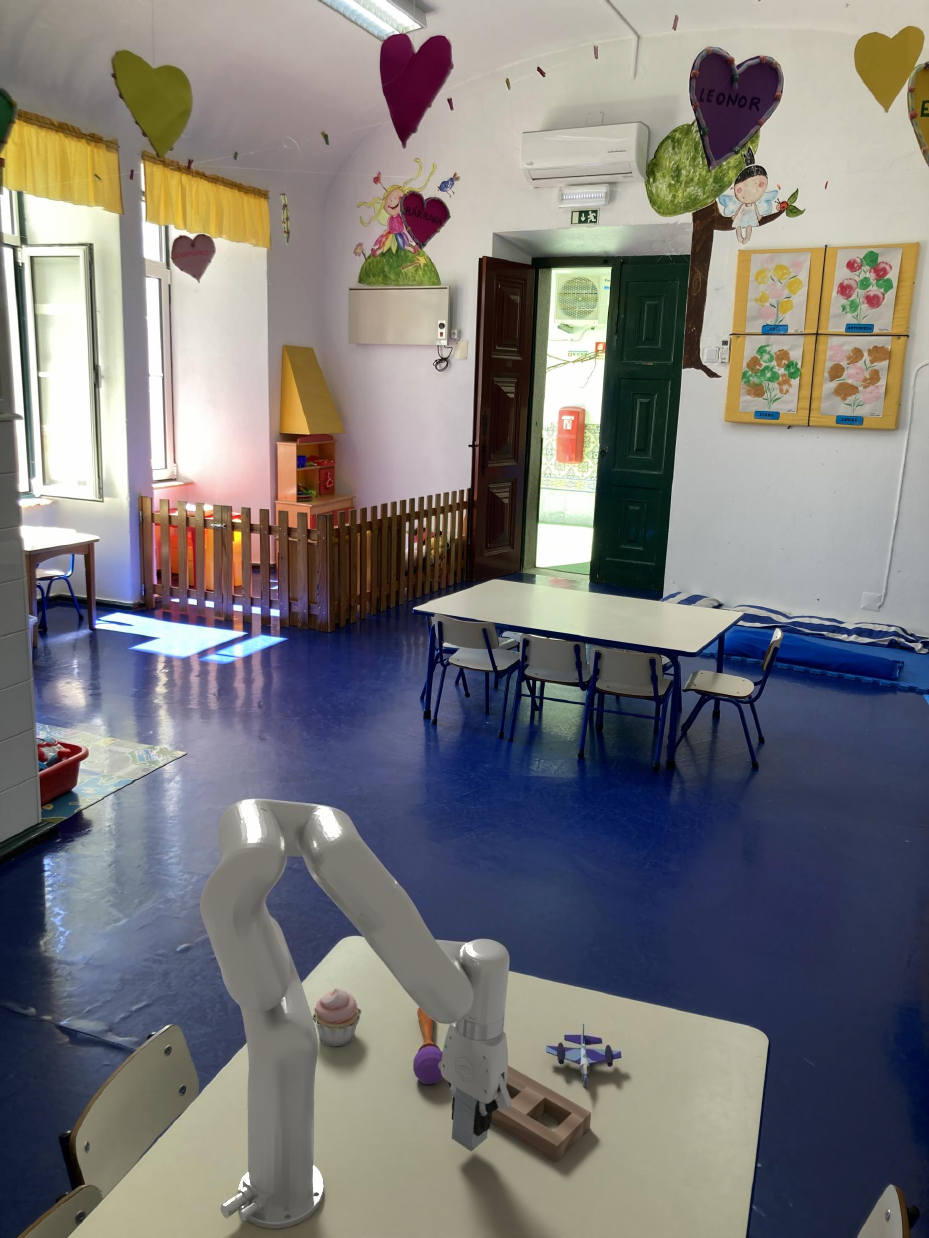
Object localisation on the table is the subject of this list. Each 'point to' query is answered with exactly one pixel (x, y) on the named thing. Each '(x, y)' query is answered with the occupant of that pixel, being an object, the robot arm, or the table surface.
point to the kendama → (427, 1053)
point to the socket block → (532, 1104)
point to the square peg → (466, 1121)
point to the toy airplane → (583, 1053)
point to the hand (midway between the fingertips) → (470, 1122)
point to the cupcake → (336, 1017)
